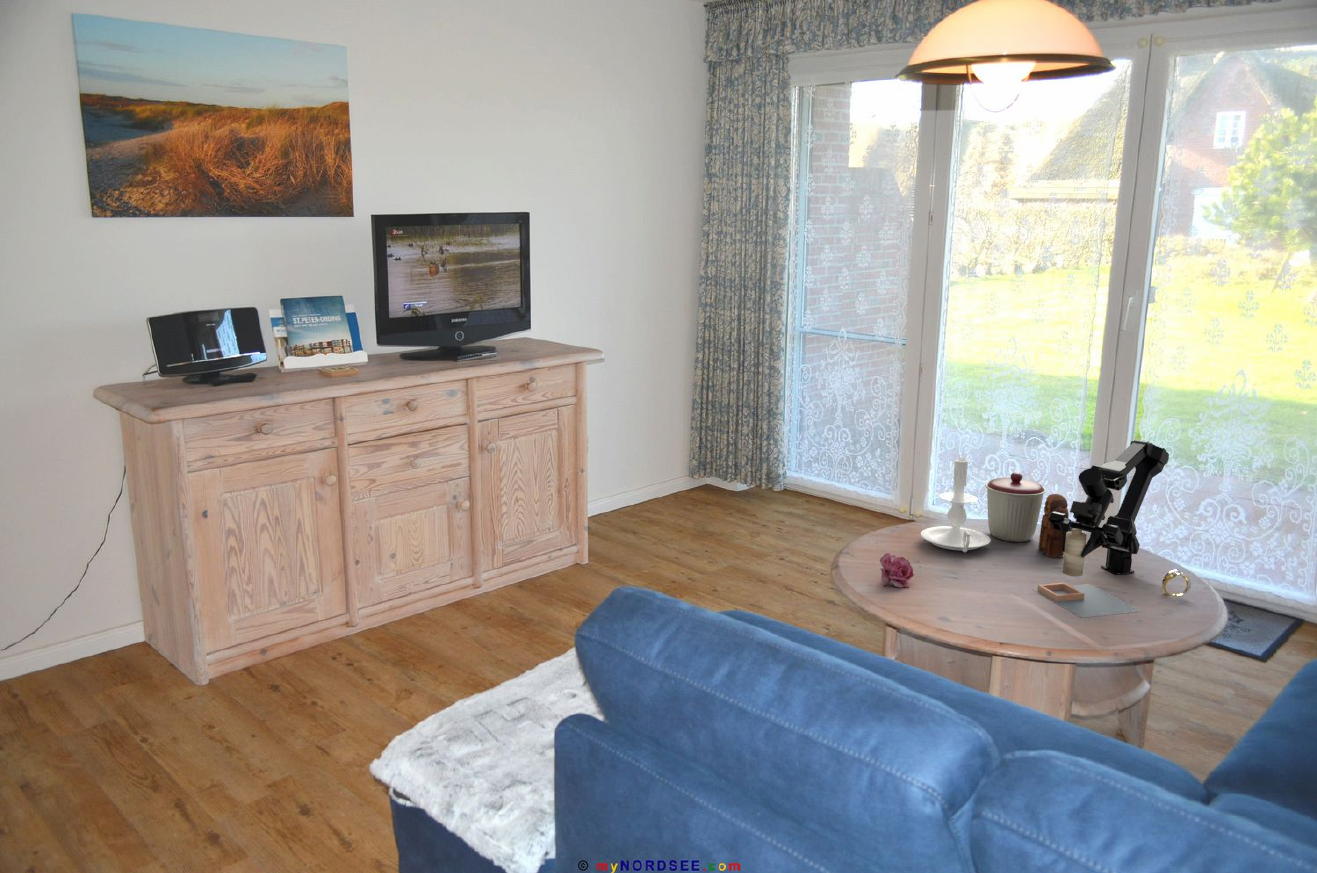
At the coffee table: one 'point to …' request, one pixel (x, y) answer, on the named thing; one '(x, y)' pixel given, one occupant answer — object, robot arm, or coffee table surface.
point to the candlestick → (957, 517)
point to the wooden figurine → (1048, 536)
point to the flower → (895, 570)
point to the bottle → (1074, 553)
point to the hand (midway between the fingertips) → (1072, 554)
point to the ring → (1176, 573)
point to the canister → (1013, 507)
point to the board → (1084, 600)
